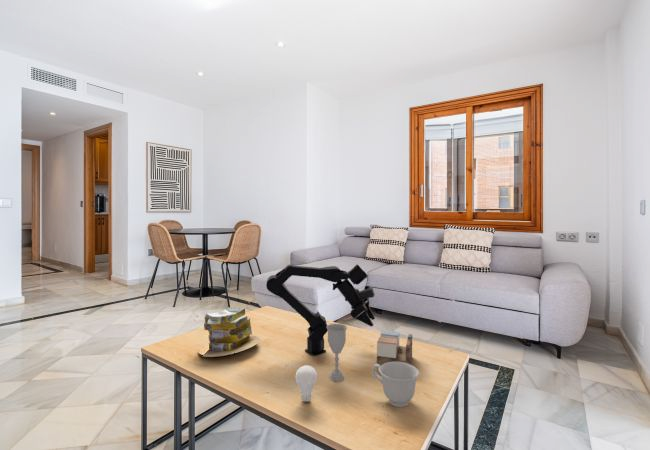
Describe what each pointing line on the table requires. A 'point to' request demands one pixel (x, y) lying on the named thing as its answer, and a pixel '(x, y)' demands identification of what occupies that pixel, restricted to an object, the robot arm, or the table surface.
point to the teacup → (397, 381)
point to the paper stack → (228, 332)
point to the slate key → (390, 335)
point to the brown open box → (399, 354)
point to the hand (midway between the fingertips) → (373, 322)
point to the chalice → (336, 346)
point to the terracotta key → (387, 347)
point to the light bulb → (306, 381)
